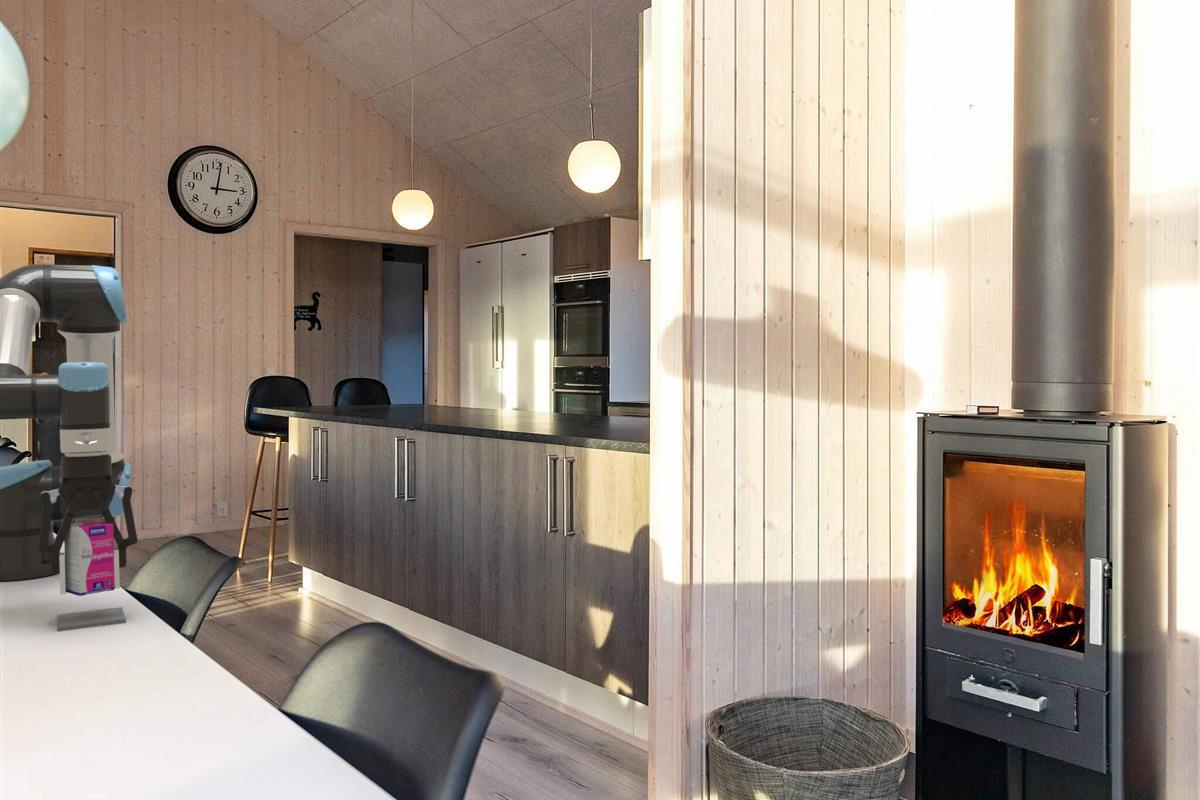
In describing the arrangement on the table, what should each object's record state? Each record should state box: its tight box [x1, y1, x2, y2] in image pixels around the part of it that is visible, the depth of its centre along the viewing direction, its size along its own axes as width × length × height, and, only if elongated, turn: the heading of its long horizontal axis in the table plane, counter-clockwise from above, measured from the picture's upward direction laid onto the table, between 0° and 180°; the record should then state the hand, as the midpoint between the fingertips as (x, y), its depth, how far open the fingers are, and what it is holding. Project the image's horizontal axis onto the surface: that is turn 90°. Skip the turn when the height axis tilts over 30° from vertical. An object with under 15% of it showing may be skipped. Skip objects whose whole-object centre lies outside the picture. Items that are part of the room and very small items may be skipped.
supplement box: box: [63, 520, 115, 597], centre depth 164 cm, size 6×6×12 cm
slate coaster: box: [56, 606, 127, 632], centre depth 165 cm, size 10×10×1 cm
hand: (90, 589), depth 165 cm, fingers closed on supplement box, 7 cm apart
